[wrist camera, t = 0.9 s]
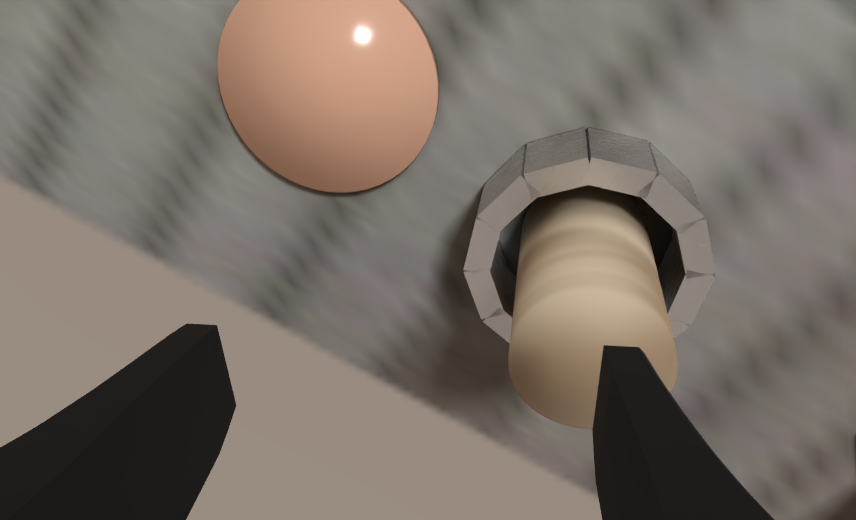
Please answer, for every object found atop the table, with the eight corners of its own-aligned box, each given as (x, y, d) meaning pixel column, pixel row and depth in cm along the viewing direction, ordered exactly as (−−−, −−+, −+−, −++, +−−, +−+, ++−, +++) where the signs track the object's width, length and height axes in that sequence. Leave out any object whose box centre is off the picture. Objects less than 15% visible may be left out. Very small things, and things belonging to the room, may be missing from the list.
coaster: (469, 157, 22) (467, 161, 21) (280, 208, 24) (276, 213, 23) (391, -73, 19) (388, -72, 18) (184, 9, 21) (177, 12, 20)
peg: (656, 271, 23) (691, 417, 17) (539, 295, 24) (532, 438, 18) (632, 163, 21) (660, 282, 15) (507, 194, 22) (487, 316, 16)
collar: (713, 301, 23) (728, 345, 21) (509, 338, 25) (504, 382, 23) (675, 102, 20) (689, 130, 18) (447, 164, 22) (435, 197, 20)
